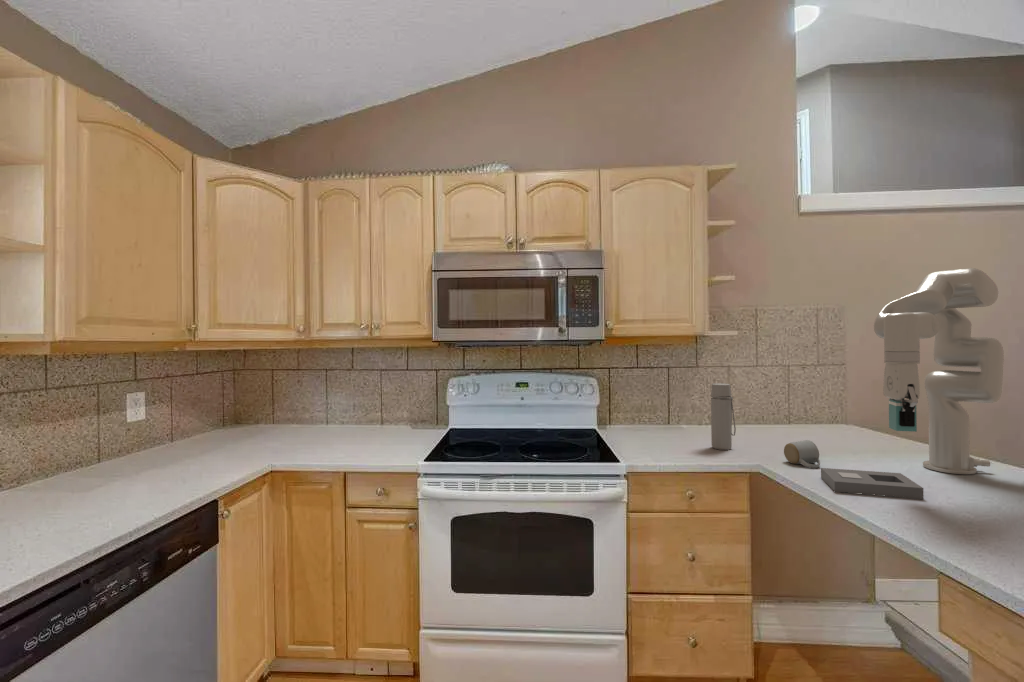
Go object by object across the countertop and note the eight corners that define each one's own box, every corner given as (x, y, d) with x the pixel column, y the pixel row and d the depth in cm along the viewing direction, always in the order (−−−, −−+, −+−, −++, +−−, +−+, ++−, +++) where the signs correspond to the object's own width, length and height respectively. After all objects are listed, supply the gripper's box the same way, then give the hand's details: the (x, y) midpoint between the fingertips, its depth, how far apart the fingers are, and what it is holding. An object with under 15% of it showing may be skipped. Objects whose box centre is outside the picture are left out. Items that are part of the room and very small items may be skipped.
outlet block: (900, 483, 137) (900, 472, 137) (923, 499, 124) (923, 487, 124) (821, 477, 144) (820, 467, 144) (834, 492, 131) (834, 480, 131)
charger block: (908, 428, 130) (908, 399, 130) (917, 431, 126) (916, 401, 126) (888, 427, 132) (888, 399, 132) (896, 430, 127) (895, 401, 127)
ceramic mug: (781, 461, 163) (781, 439, 163) (802, 459, 165) (802, 437, 165) (805, 470, 153) (805, 446, 153) (827, 468, 154) (827, 445, 154)
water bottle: (717, 451, 179) (716, 385, 179) (707, 446, 187) (706, 383, 186) (740, 450, 179) (739, 384, 179) (730, 445, 187) (729, 382, 187)
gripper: (872, 356, 138) (873, 418, 138) (899, 359, 122) (900, 430, 122) (903, 356, 136) (904, 419, 136) (935, 359, 119) (935, 431, 120)
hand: (902, 423), depth 129 cm, fingers closed on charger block, 4 cm apart
